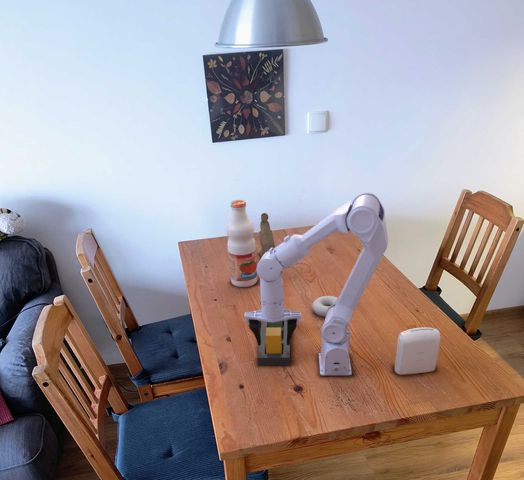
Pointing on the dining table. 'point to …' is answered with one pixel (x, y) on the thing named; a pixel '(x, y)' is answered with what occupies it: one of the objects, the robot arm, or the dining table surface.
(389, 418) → the dining table surface
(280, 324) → the green peg
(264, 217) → the worn brown figurine
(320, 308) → the donut
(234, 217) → the fruit juice
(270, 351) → the mustard peg
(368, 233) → the robot arm
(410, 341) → the photo printer
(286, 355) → the peg stand
